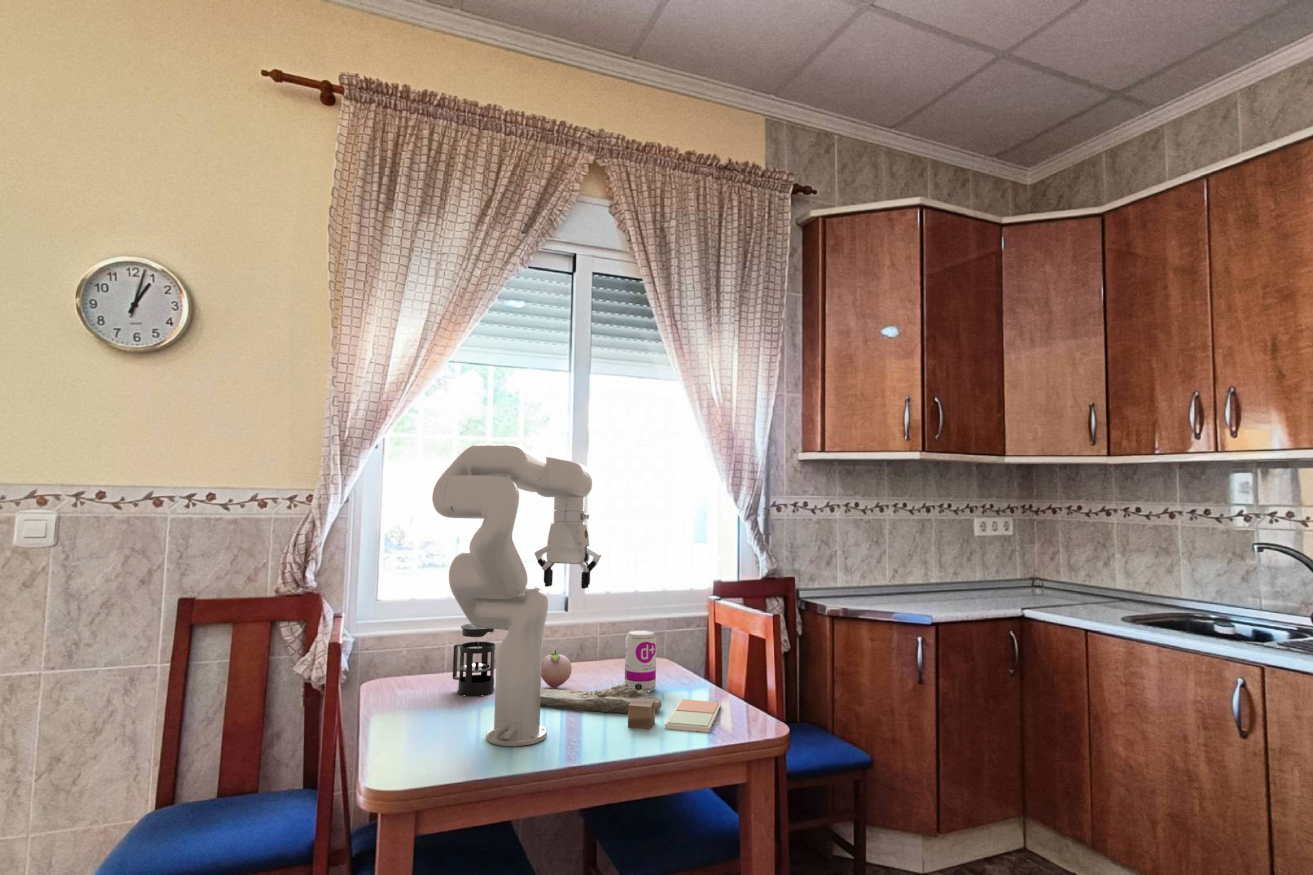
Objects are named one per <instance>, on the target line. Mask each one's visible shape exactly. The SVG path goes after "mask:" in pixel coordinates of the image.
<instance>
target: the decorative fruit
mask: <svg viewBox="0 0 1313 875" xmlns="http://www.w3.org/2000/svg"><path fill="white" fill-rule="evenodd" d="M572 671H573V667H572V663H571V660H570V659H569V658H568V657H567V656H566V655H563V654H560V653H558V652H557V650H555V649H554V652H550V653H549V654H548V655H546V656H545V657H543V658H542V668H541V680H543V682H545V684H546V685H547V686H548V687H550V689H557V688H558V687H560V686H563V684H565V683H566V682H567V681H568V680H569V678H570V677H571V675H572Z"/></svg>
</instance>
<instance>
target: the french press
mask: <svg viewBox="0 0 1313 875" xmlns="http://www.w3.org/2000/svg"><path fill="white" fill-rule="evenodd" d="M460 629H462V633H461V634H462V636H463V637H469V638H477V641H470V642H469V641H468V642H463V643H457V644H454V645H453V660H452V665H453V666H452V680H453V681H454V680H455V681H456V680H458V689H457V691H456V692H457V694H458V693H459V694H460V695H459V694H458V695H459V696H461V695H465V696H464V697H466V696H479V697H482V696H481V695H486V696H489V695H488V694H490V695H492V694H493V692H494V693H495V686H494V685H495V672H494V671H495V651H496V643H494V642H492V641H491V642H490V641H480V638H481V637H484V636H486V635H487V634H488V633H494V631H495V629H488V628H480V627H476V626H474V625H473V624H471V623H465V624H463V625H460ZM459 651H460V655H459V654H458V653H459ZM489 653H490V663H488V662H489ZM465 654H466V655H465ZM474 654H475V655H476V661H475V663H474V659H473V658H474ZM479 654H481V660H480V661H481V662H479ZM458 656H460V658H459V659H460V660H459V676H458ZM465 656H466V658H465ZM465 659H466V660H465ZM488 672H489V673H490V674H489V675H488ZM464 673H465V676H464ZM476 673H477V674H476ZM478 673H480V674H478ZM491 693H492V694H491Z"/></svg>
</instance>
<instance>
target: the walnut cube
mask: <svg viewBox="0 0 1313 875" xmlns="http://www.w3.org/2000/svg"><path fill="white" fill-rule="evenodd" d="M627 716H628V717H627V728H628V729H637V730H648V731H649V730H650V731H651V729H652V727H653V726H654V725H655V724H656V721H655V720H656V712H655V701H652V700H639V699H634V700H633V701H632V702H631V703H630V704H629V705H628V714H627Z"/></svg>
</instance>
